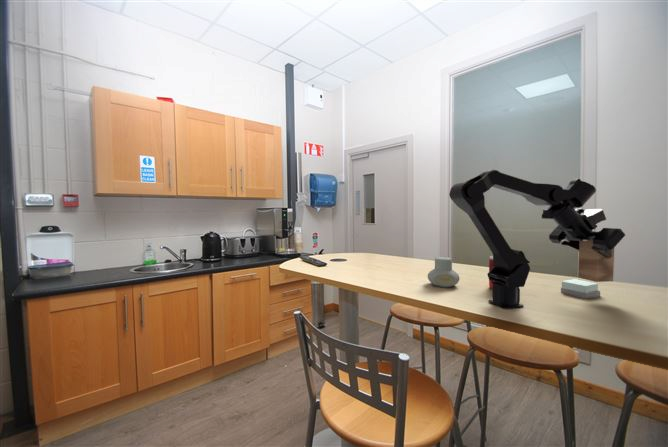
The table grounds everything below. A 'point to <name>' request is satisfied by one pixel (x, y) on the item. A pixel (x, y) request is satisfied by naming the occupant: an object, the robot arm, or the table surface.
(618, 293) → the table surface
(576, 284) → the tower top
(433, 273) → the air freshener
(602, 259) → the walnut post
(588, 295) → the tower base
